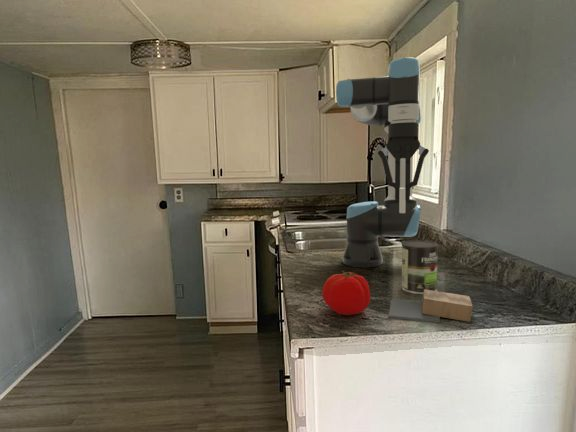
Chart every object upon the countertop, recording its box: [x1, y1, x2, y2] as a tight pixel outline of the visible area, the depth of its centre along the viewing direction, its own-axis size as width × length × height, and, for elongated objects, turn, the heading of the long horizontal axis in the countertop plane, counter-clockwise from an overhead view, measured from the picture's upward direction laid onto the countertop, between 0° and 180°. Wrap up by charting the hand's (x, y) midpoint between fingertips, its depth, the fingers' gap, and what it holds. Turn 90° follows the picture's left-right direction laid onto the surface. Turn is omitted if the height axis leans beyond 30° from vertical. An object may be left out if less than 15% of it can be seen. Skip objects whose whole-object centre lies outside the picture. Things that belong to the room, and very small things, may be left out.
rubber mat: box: [387, 298, 441, 324], centre depth 98 cm, size 12×12×1 cm
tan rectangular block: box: [421, 289, 474, 323], centre depth 95 cm, size 7×4×11 cm
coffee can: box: [401, 239, 439, 296], centre depth 114 cm, size 10×10×14 cm
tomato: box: [321, 269, 372, 316], centre depth 99 cm, size 13×12×11 cm
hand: (402, 212), depth 102 cm, fingers closed
